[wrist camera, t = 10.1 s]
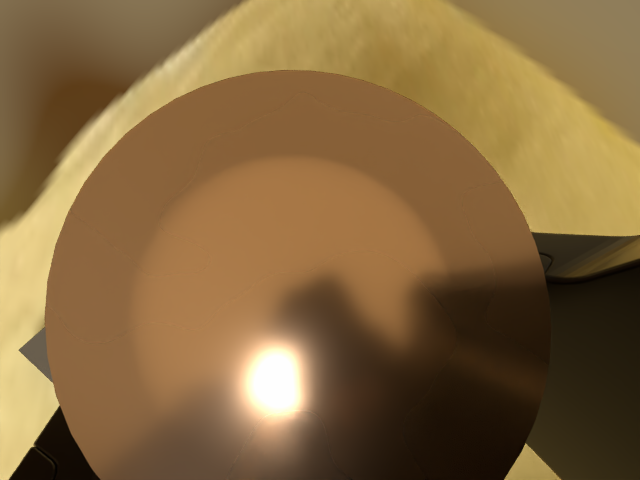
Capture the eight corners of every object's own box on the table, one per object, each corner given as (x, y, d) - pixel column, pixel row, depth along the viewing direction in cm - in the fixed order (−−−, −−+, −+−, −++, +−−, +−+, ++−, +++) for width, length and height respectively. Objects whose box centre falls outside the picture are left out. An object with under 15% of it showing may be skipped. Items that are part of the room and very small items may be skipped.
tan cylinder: (347, 306, 16) (577, 159, 5) (307, 439, 14) (528, 683, 3) (229, 262, 16) (191, 0, 5) (172, 392, 14) (-120, 474, 3)
